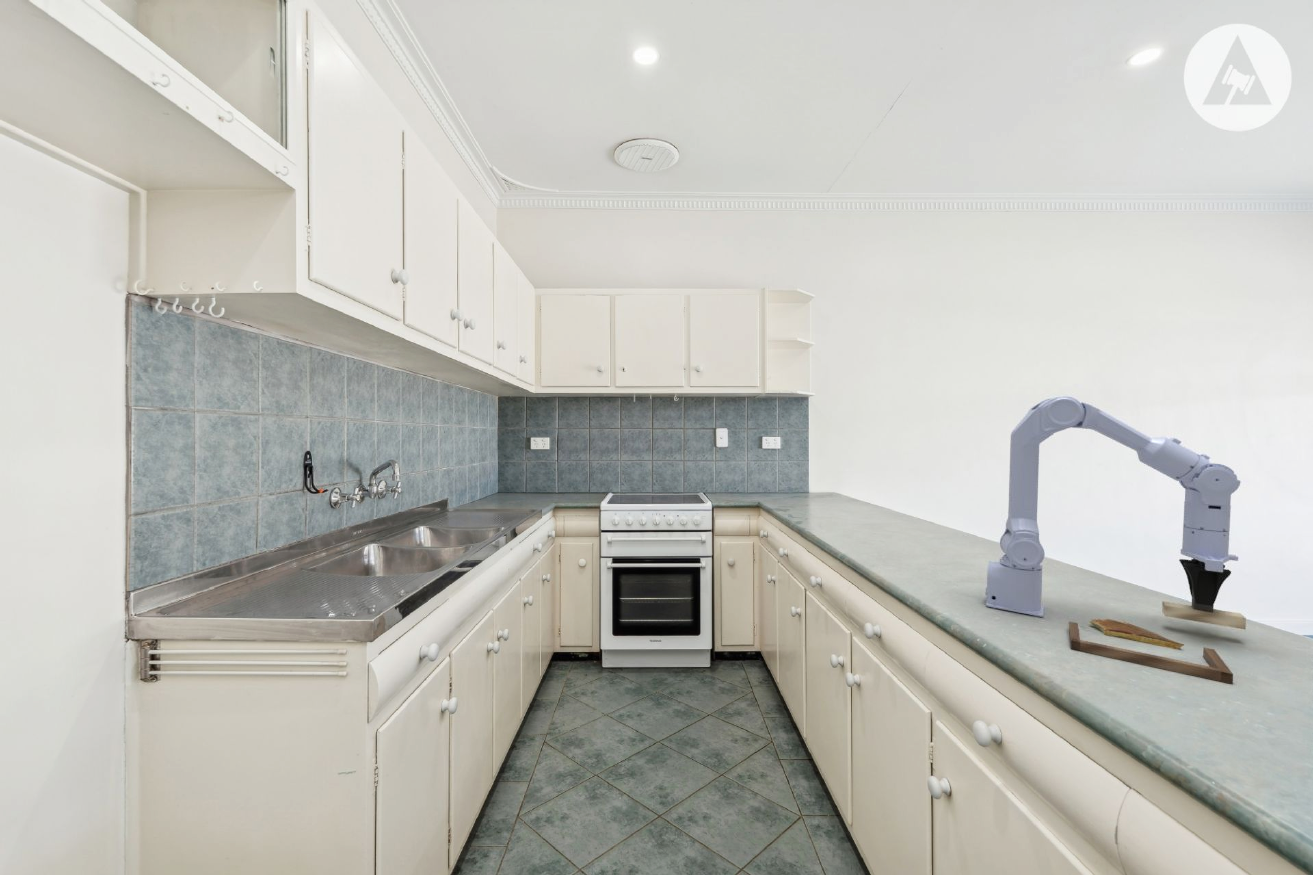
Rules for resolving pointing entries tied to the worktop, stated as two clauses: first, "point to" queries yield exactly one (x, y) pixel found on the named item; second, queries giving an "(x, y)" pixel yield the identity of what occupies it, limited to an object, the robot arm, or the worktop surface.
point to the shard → (1132, 633)
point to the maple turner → (1204, 614)
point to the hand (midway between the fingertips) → (1202, 602)
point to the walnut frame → (1156, 658)
